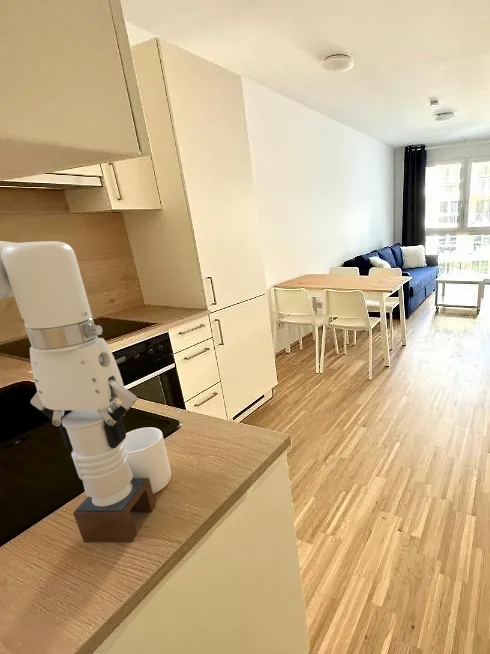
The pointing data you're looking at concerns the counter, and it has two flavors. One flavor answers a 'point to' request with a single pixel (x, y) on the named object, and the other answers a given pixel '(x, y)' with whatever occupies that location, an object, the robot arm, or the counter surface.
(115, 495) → the white ribbed cylinder
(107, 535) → the shelf
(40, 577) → the counter surface
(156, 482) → the mug
